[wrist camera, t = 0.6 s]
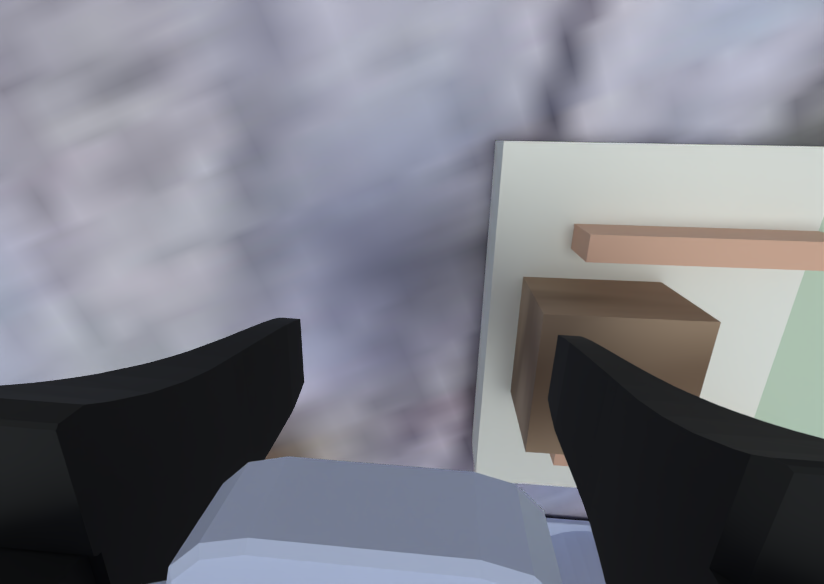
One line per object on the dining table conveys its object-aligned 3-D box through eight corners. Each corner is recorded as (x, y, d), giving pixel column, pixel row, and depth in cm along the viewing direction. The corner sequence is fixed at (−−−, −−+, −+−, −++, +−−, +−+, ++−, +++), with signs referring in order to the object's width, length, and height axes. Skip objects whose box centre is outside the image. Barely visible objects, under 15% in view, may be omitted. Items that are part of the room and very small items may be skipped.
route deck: (1011, 475, 22) (1163, 566, 18) (471, 440, 24) (478, 513, 19) (1213, 153, 17) (1510, 159, 12) (495, 140, 19) (511, 141, 14)
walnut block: (634, 398, 19) (680, 462, 15) (510, 391, 19) (525, 452, 16) (661, 282, 17) (720, 322, 13) (523, 276, 18) (543, 314, 14)
